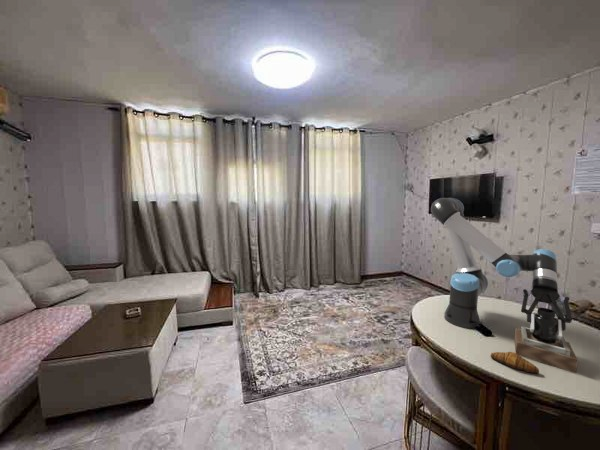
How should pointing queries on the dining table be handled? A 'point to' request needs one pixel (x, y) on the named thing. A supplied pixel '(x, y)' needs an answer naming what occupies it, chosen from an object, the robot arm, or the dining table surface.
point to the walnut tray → (545, 350)
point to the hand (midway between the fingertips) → (545, 333)
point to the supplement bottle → (545, 325)
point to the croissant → (514, 361)
